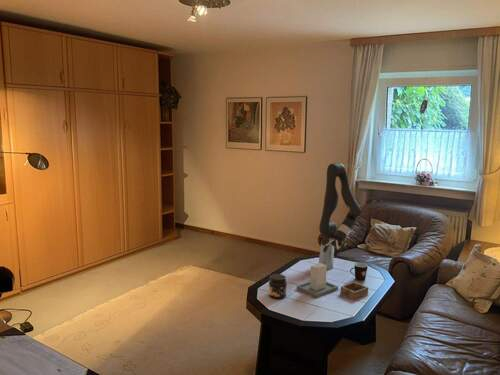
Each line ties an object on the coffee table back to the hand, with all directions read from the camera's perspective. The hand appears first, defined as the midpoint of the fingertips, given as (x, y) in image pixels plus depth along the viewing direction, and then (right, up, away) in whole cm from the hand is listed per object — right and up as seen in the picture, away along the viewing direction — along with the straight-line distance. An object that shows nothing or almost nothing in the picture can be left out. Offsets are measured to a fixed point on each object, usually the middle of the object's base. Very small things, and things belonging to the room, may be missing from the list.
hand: (329, 253), depth 254 cm
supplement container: (-33, -23, -13) cm, 42 cm away
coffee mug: (+22, -19, +14) cm, 32 cm away
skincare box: (-8, -21, -3) cm, 22 cm away
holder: (+13, -23, -9) cm, 28 cm away
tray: (-8, -22, -3) cm, 23 cm away
